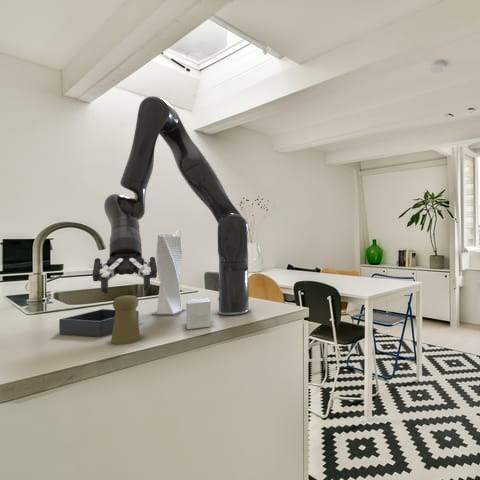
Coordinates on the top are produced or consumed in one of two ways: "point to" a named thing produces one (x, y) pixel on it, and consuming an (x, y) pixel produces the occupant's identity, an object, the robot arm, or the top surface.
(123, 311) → the cork
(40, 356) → the top surface
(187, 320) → the product box
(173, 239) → the skyscraper
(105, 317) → the basket
